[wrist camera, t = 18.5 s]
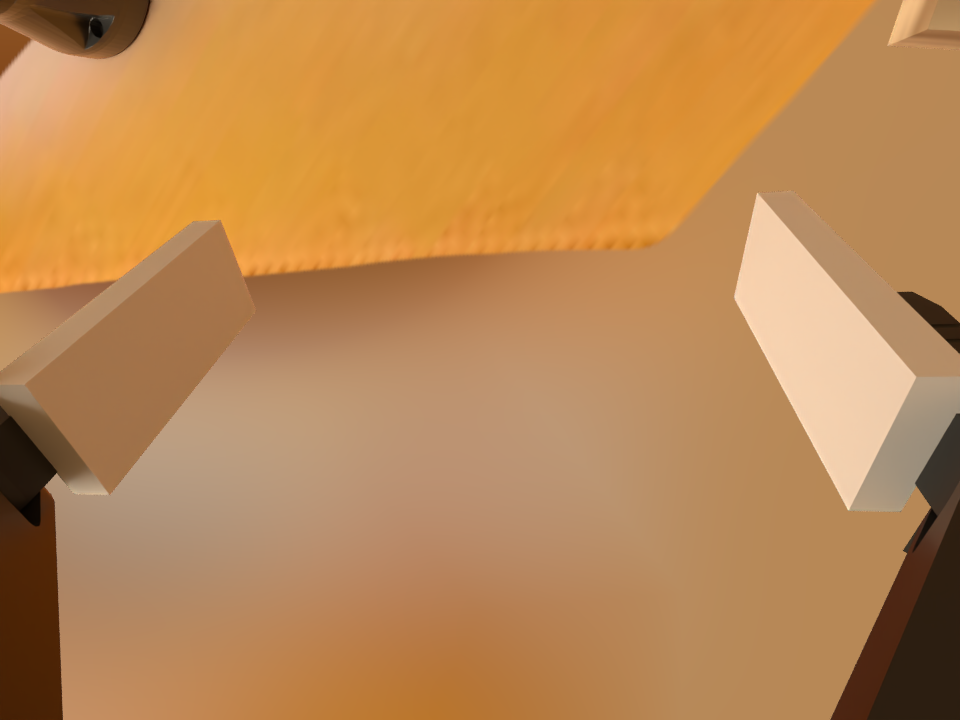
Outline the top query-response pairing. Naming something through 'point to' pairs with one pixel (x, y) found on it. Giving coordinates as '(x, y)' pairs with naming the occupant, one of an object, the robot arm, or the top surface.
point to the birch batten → (927, 25)
